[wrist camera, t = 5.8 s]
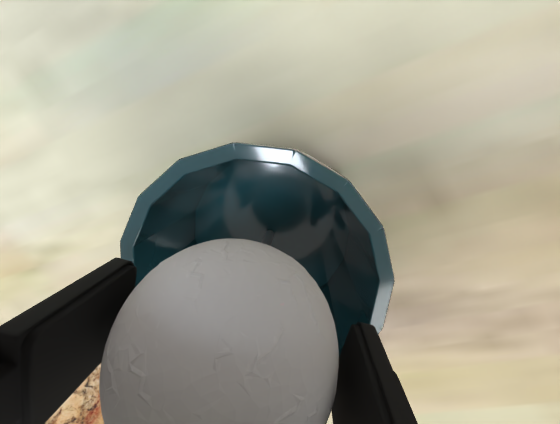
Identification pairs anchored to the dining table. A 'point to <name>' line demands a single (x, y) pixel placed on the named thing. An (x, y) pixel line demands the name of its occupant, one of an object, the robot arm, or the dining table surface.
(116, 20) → the dining table surface
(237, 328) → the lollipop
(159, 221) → the mug
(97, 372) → the tan irregular piece
